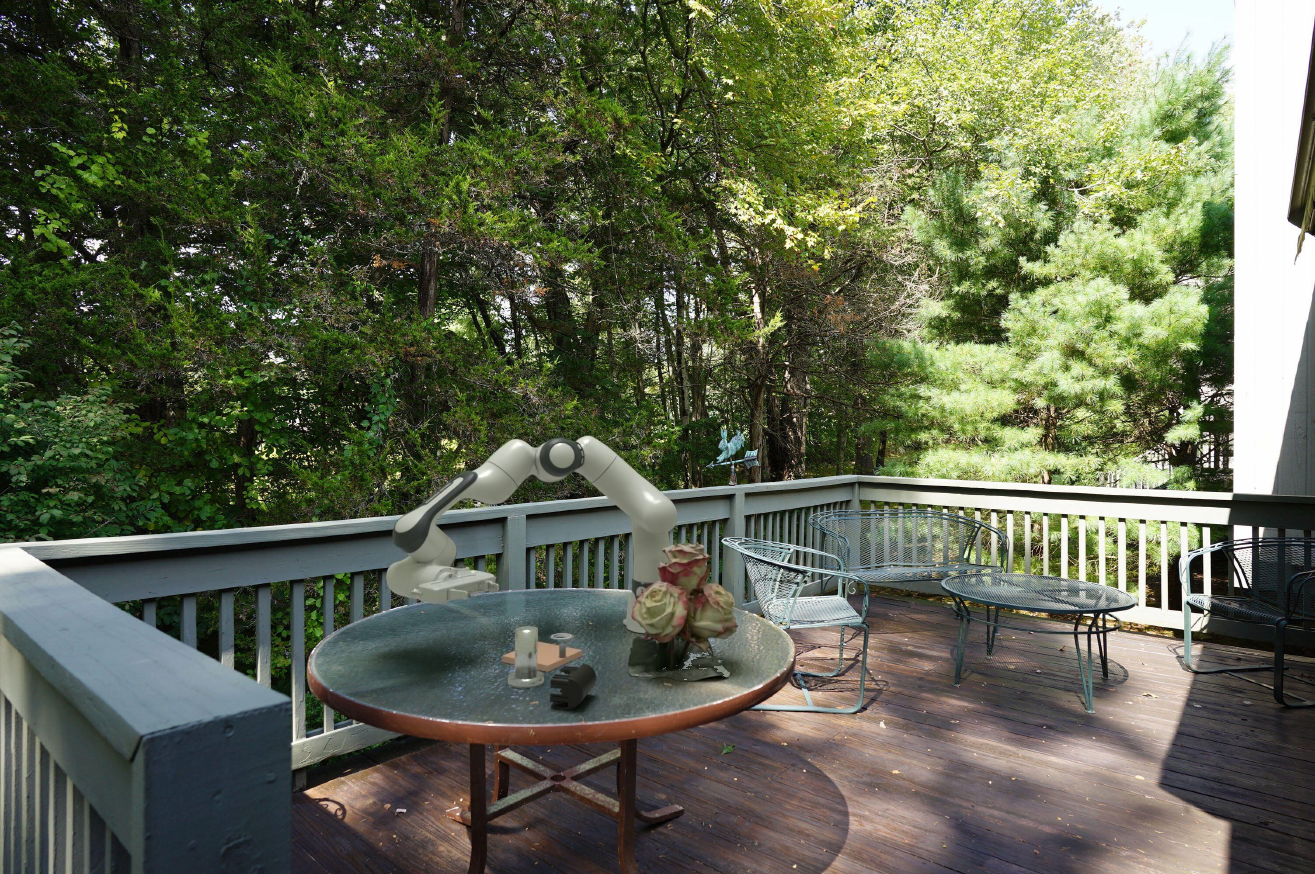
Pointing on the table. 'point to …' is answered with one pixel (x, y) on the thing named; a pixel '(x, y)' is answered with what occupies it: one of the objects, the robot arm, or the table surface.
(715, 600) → the rose bouquet
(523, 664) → the hub
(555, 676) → the end cap
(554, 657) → the locating plate
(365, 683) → the table surface
